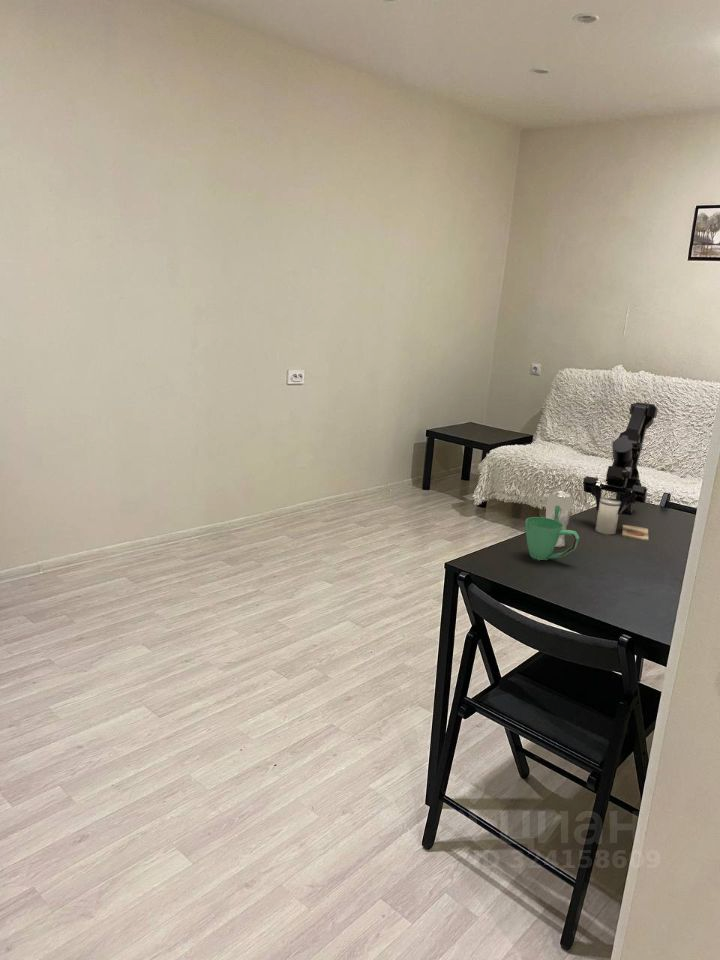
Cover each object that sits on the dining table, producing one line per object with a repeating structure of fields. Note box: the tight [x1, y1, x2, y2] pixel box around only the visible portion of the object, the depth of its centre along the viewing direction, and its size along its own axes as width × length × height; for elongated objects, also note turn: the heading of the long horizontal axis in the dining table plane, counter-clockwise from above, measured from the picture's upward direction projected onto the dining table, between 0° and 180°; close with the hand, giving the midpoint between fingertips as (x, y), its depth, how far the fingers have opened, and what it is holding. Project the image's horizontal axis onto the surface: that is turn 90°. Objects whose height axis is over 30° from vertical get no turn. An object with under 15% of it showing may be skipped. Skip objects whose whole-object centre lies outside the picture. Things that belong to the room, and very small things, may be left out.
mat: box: [621, 524, 649, 542], centre depth 226 cm, size 12×8×1 cm, turn 160°
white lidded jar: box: [594, 497, 621, 536], centre depth 225 cm, size 6×6×10 cm
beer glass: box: [545, 490, 574, 548], centre depth 209 cm, size 7×7×15 cm
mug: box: [524, 516, 580, 561], centre depth 196 cm, size 15×10×10 cm
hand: (607, 512), depth 223 cm, fingers closed on white lidded jar, 6 cm apart
